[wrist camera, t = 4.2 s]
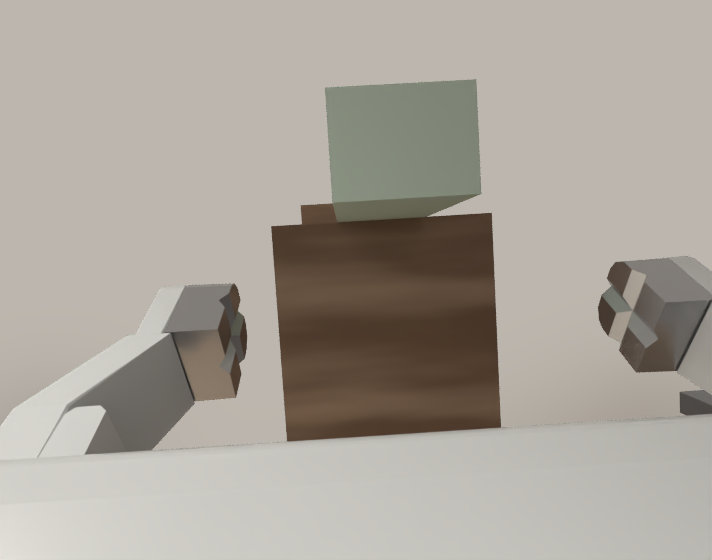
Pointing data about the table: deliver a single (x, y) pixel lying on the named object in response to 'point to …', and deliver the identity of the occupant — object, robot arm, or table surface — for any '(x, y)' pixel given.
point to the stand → (386, 325)
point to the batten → (402, 148)
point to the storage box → (695, 402)
